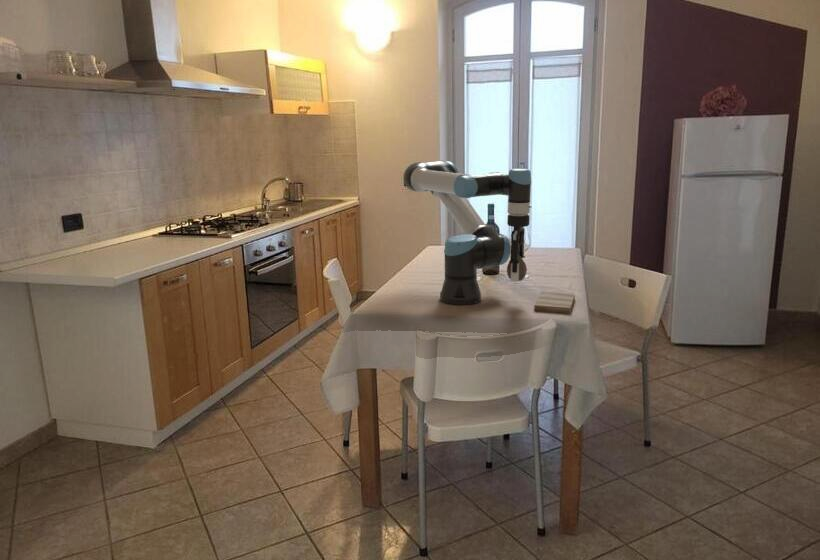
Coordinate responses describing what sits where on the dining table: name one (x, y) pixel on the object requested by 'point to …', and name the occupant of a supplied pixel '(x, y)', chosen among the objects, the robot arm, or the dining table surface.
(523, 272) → the vase
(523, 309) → the dining table surface
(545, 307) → the walnut board
